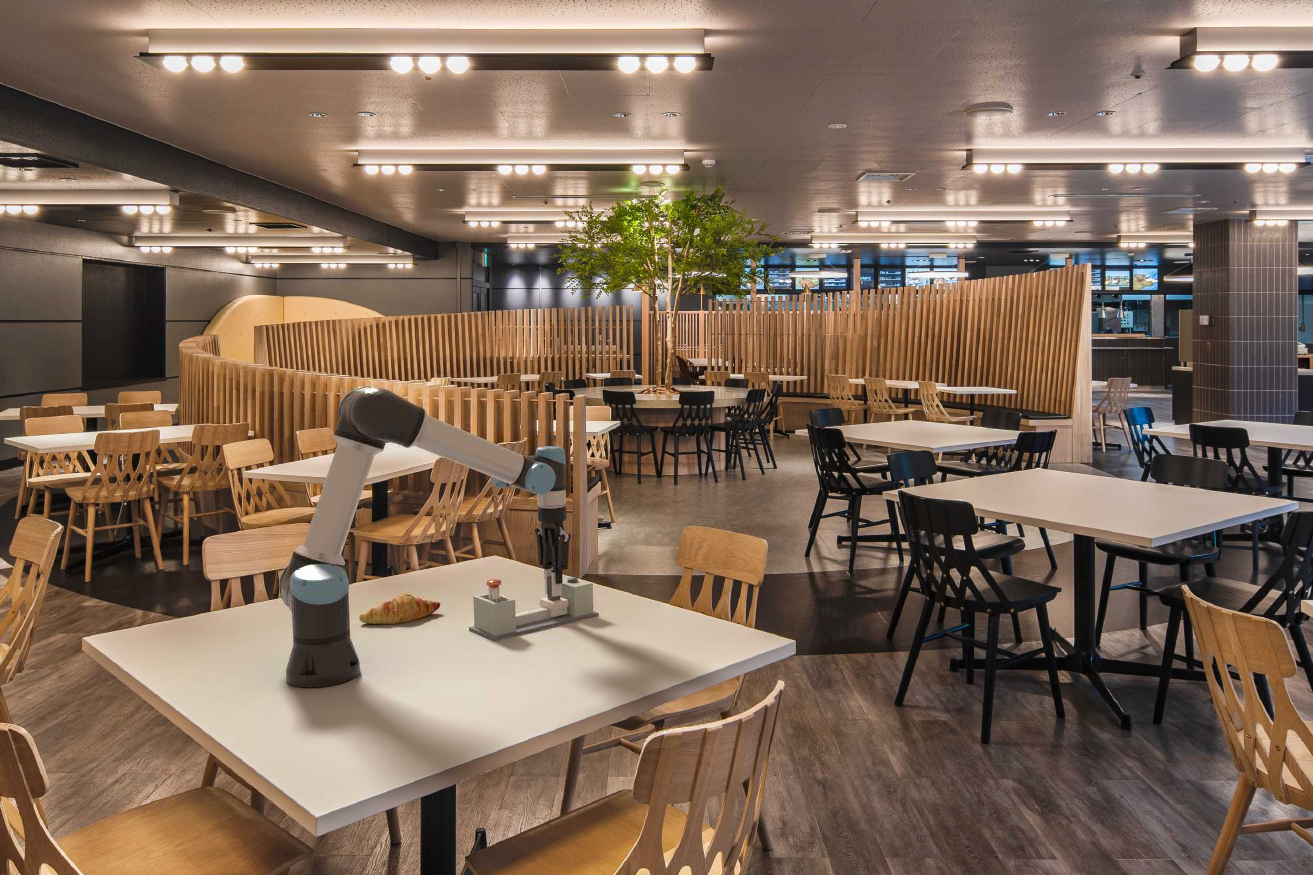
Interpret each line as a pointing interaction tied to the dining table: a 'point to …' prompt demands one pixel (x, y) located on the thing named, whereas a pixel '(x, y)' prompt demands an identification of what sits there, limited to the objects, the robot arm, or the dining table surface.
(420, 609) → the croissant
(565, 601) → the block
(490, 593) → the ball
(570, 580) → the rail fixture
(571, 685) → the dining table surface
